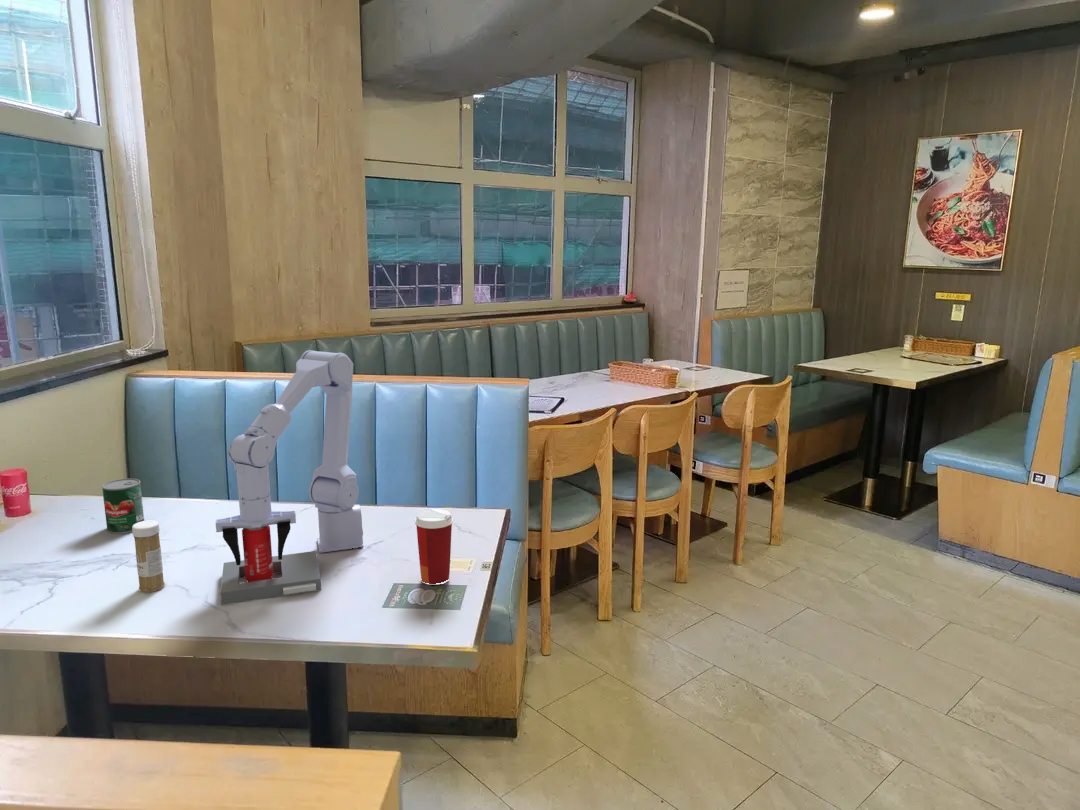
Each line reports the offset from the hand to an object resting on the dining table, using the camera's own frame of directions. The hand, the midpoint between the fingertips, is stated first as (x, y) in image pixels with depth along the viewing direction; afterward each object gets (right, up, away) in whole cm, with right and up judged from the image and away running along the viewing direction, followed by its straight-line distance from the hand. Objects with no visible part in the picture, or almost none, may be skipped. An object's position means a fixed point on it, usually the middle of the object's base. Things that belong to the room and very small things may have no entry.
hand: (259, 560), depth 143 cm
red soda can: (-1, -5, +2) cm, 5 cm away
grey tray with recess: (+2, -5, +2) cm, 5 cm away
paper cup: (+34, -5, +3) cm, 35 cm away
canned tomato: (-43, +1, +29) cm, 52 cm away
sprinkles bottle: (-21, -5, -1) cm, 21 cm away
